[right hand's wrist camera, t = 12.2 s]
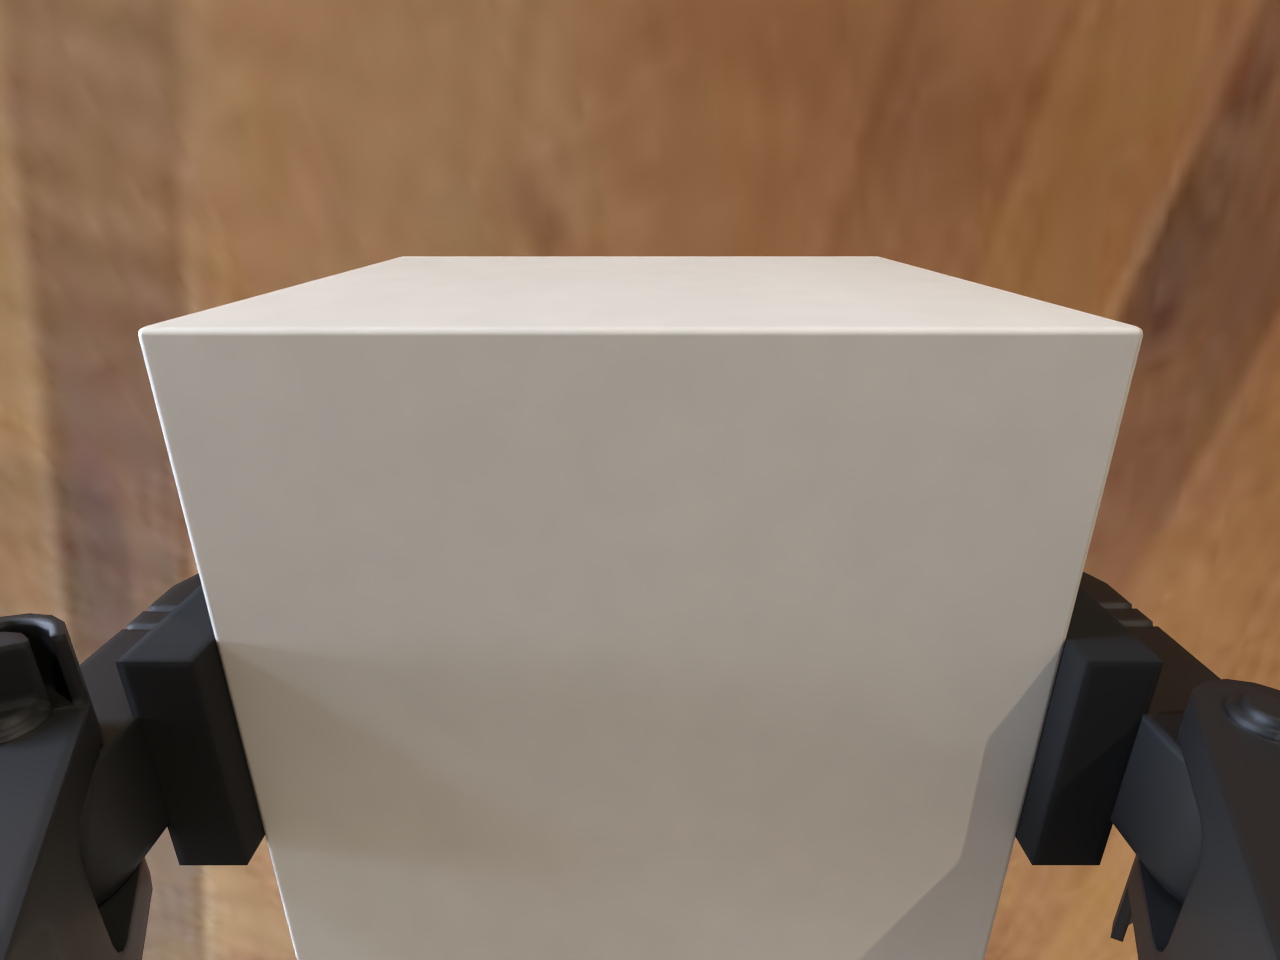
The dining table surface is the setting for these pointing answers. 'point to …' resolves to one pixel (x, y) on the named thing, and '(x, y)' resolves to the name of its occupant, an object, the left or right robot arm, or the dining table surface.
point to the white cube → (640, 594)
